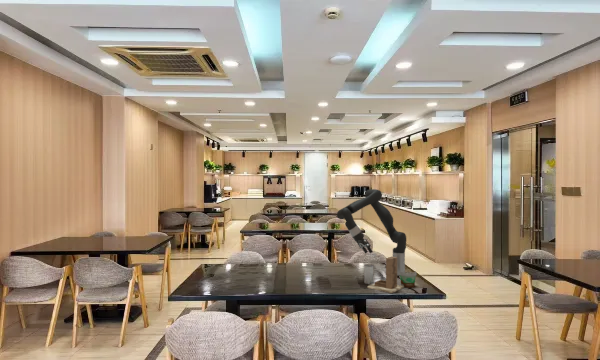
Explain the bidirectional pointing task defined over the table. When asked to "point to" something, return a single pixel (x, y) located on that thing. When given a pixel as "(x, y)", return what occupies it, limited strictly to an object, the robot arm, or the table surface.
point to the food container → (407, 279)
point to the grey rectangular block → (368, 274)
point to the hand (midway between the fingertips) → (369, 252)
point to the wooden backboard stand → (388, 278)
